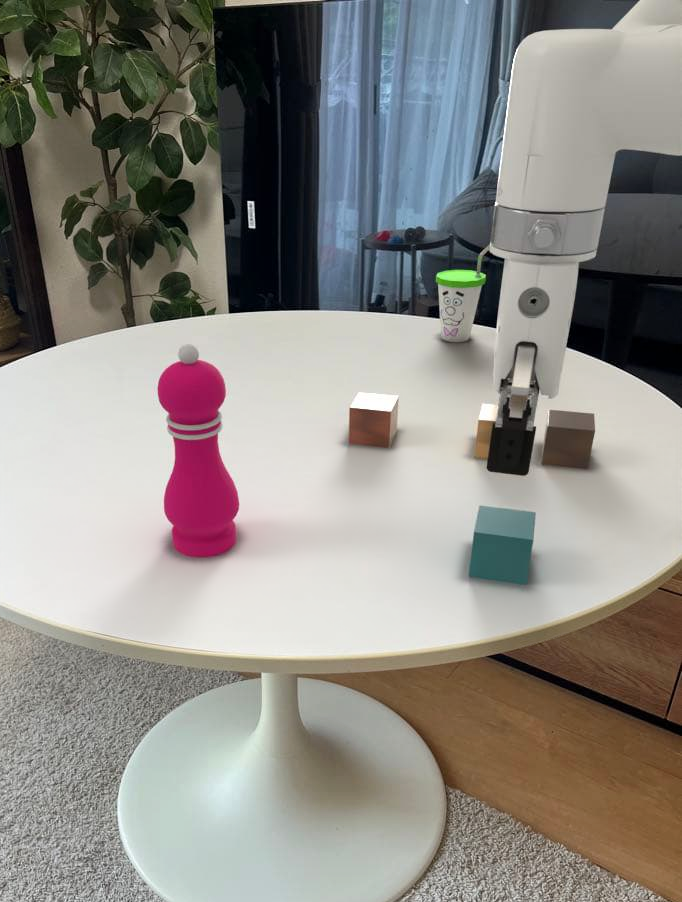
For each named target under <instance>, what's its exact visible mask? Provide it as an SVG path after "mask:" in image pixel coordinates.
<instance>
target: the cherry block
mask: <svg viewBox="0 0 682 902" xmlns="http://www.w3.org/2000/svg"><path fill="white" fill-rule="evenodd" d="M399 398H400V396H399V395H390V394H379V393H369V392H368V393H367V392H358V393H357V395H356V396H355V398H354V400H353V401H352V403H351V404H350V406H349V408H348V409H349V413H348V414H349V415H348V419H349V420H348V444H349V445H359V446H367V447H375V448H376V447H379V448H386V449H390V447H391V445H392V443H393V440H394V439H395V436H396V434H397V432H398V418H399V417H398V415H399Z"/></svg>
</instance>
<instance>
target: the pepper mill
mask: <svg viewBox="0 0 682 902" xmlns="http://www.w3.org/2000/svg"><path fill="white" fill-rule="evenodd" d="M177 355H178V359H179V361H176V362H173V363H172V364H170V365H168V366H167V368H165V369H164V371H163V372H162V373H161V375H160V376H159V379H158V383H157V397H158V401H159V404H160V406H161V407H162V408H163V410H164V411H165V412H167V413H168V414H167V416H166V418H165V421H166V423H167V428H166V430H167V433H168V434H169V435H170V436H172V439H173V443H174V463H173V467H172V471H171V474H170V476H169V479H168V481H167V483H166V485H165V491H164V495H163V512H164V515H165V517H166V519H167V521H168V522H169V523H170V524H171V525H172V527H171V537H172V545H173V548H174V549H175V550H176V551H177V552H178V553H179V554H181V555H183V556H187V557H191V558H211V557H216V556H220V555H223V554H224V553H226V552H228V551H230V550H232V548H233V547H234V546H235V545H236V542H237V527H236V526H237V525H236V523H235V522H234V520H235V518H236V517H237V515H238V512H239V510H240V498H239V492H238V490H237V487H236V485H235V484H236V483H235V481H234V480H233V478H232V476H231V475H230V473H229V471H228V469H227V468H226V466H225V464H224V461H223V458H222V456H221V453H220V447H219V433H220V432H221V431H222V430H223V427H224V426H223V425H224V424H223V422H222V419H223V414H222V412H221V411H220V410H219V409H220V408H221V407H222V405H223V404H224V402H225V399H226V396H227V389H226V388H227V387H226V382H225V379H224V377H223V375H222V373H221V371H220V370H219V369H218V368H217V367H216V366H215V365H213V364H211V363H209V362H207V361H206V360H201V359H199V358H200V352H199V350H198V348H197V347H196V345H194V344H192V343H185V344H182V346H180V348H179V349H178V353H177Z"/></svg>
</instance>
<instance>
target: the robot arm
mask: <svg viewBox="0 0 682 902" xmlns="http://www.w3.org/2000/svg"><path fill="white" fill-rule="evenodd" d="M506 106H507V107H506V114H505V122H504V123H505V124H504V131H503V139H502V145H501V146H502V147H501V155H500V161H499V162H500V163H499V171H498V178H497V179H498V180H497V188H496V194H495V204H494V209H493V219H492V226H491V234H490V241H489V242H490V243H489V245H490V249H489V250H488V252H489V253H490V254H492V255H493V256H496V257H498V258H501V259H504V261H503V262H504V263H503V271H502V276H501V277H502V278H501V284H500V285H501V287H500V294H499V302H498V311H497V318H496V319H497V320H496V329H495V339H494V340H495V341H494V354H493V356H494V357H493V359H494V360H493V376H492V378H493V379H492V380H493V381H492V389H493V390H494V392H496V393H497V394H499V399H498V404H497V405H498V412H497V418H496V422H493V425H492V432H491V439H490V446H489V453H488V459H487V461H486V470H487V471H488V472H490V473H496V474H497V473H498V474H504V475H513V476H519V477H520V476H521V477H525V476H527V475H528V474H529V472H530V466H531V459H532V456H533V455H532V454H533V449H534V442H535V439H536V438H535V437H536V432H537V426H534V425H535V418H536V413H537V406H538V402H539V395H541V396H548V399H549V400H553V399H554V398H556V397H557V396H558V395H559V390H560V386H561V385H560V384H561V377H562V372H563V368H564V367H563V366H564V361H565V356H566V349H567V343H568V338H569V333H570V328H571V322H572V316H573V311H574V305H575V299H576V293H577V285H578V277H579V269H580V268H579V265H580V263H583V262H587V261H591V260H592V259H594V258H595V257H596V256H597V252H598V247H599V241H600V235H601V232H602V231H601V230H602V226H603V221H604V215H605V211H606V204H607V200H608V193H609V189H610V185H611V184H610V183H611V178H612V173H613V169H614V163H615V159H616V154H617V152H618V151H621V150H628V151H629V150H630V151H641V152H647V153H648V152H649V153H656V154H664V155H668V156H679V157H680V156H681V157H682V0H638V1H637V3H636V4H635V5H634V6H633V7H632V8H631V9H630V10H629V11H628V12H627V13H626V14H624V15H623V17H622V18H621V19H620V20H619V21H618V22H617V23H616V24H615V25H614V26H613V27H612V28H611V29H610V28H565V29H548V30H541V31H535V32H532V33H531V34H529V35H527V36H526V37H524V38H523V39H522V40H521V42H520V43H519V45H518V47H517V48H516V51H515V54H514V57H513V63H512V68H511V75H510V82H509V91H508V97H507V105H506Z"/></svg>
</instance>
